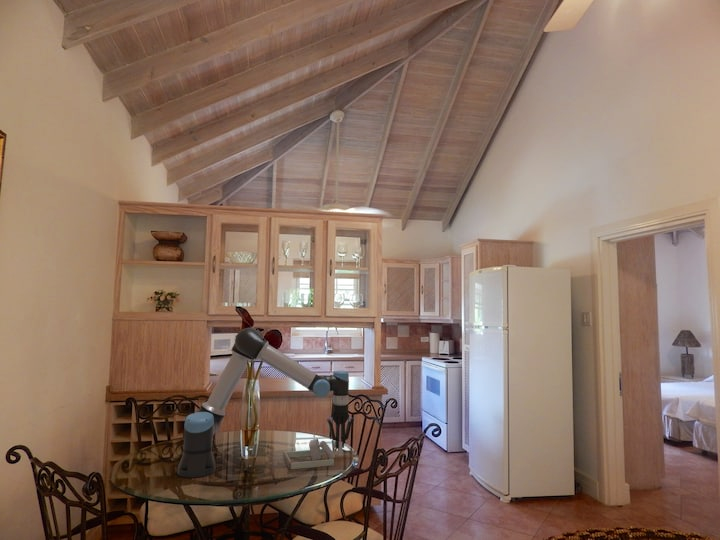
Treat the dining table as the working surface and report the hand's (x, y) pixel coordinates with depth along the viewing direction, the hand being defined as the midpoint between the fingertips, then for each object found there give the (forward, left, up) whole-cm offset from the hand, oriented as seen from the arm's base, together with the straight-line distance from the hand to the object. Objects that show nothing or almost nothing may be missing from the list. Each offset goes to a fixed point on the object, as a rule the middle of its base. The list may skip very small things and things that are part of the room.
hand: (339, 455), depth 207 cm
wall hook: (-8, 0, -2) cm, 9 cm away
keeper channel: (-15, -1, -1) cm, 15 cm away
